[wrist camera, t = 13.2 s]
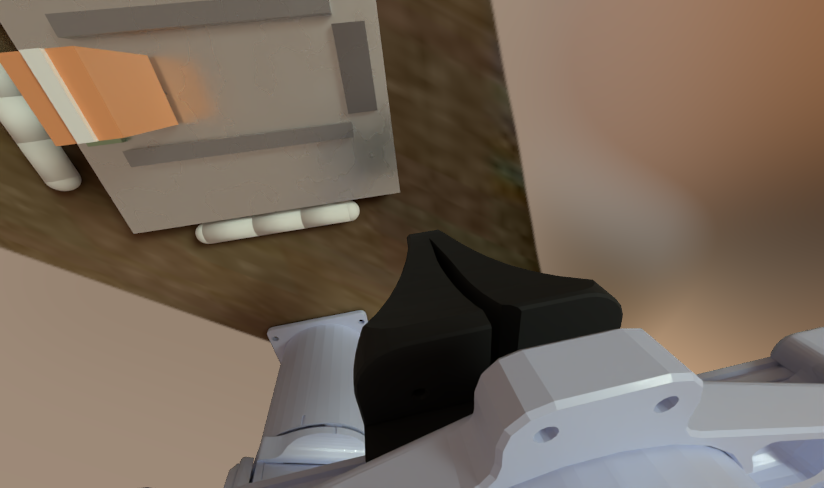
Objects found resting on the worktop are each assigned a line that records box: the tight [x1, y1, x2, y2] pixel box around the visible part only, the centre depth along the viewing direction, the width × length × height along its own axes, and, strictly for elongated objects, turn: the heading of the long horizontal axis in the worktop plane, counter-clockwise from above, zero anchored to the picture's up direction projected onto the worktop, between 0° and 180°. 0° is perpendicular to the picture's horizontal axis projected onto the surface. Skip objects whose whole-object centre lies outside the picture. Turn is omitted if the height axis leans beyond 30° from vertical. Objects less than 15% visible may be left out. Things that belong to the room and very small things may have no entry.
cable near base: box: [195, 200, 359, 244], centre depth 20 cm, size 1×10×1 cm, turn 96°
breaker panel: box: [0, 0, 400, 234], centre depth 15 cm, size 14×16×2 cm
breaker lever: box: [0, 46, 178, 146], centre depth 12 cm, size 3×2×4 cm
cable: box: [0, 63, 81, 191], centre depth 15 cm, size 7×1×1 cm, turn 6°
